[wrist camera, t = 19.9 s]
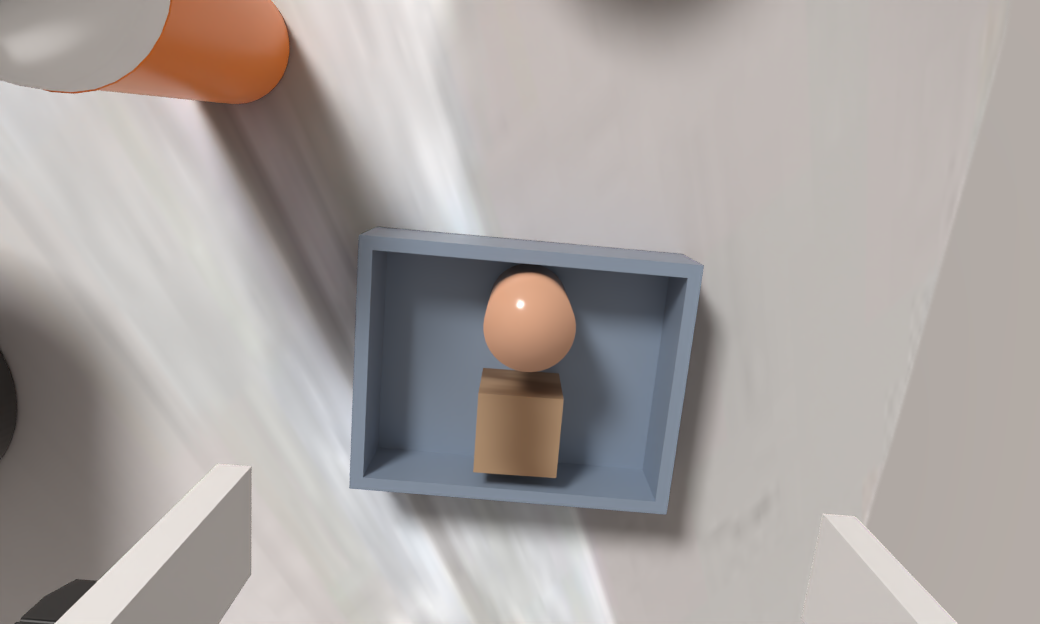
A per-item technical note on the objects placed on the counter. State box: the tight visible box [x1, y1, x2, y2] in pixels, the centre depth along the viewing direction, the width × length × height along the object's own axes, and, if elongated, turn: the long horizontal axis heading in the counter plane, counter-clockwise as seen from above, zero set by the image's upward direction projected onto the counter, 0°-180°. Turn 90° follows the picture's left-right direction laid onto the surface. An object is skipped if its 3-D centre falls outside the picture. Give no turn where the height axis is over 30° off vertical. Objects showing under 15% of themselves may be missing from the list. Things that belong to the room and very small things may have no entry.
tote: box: [349, 227, 704, 514], centre depth 42 cm, size 20×16×5 cm
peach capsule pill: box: [483, 264, 576, 372], centre depth 39 cm, size 5×5×7 cm
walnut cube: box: [473, 368, 564, 478], centre depth 42 cm, size 5×5×5 cm
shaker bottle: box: [0, 0, 289, 104], centre depth 30 cm, size 9×9×20 cm
